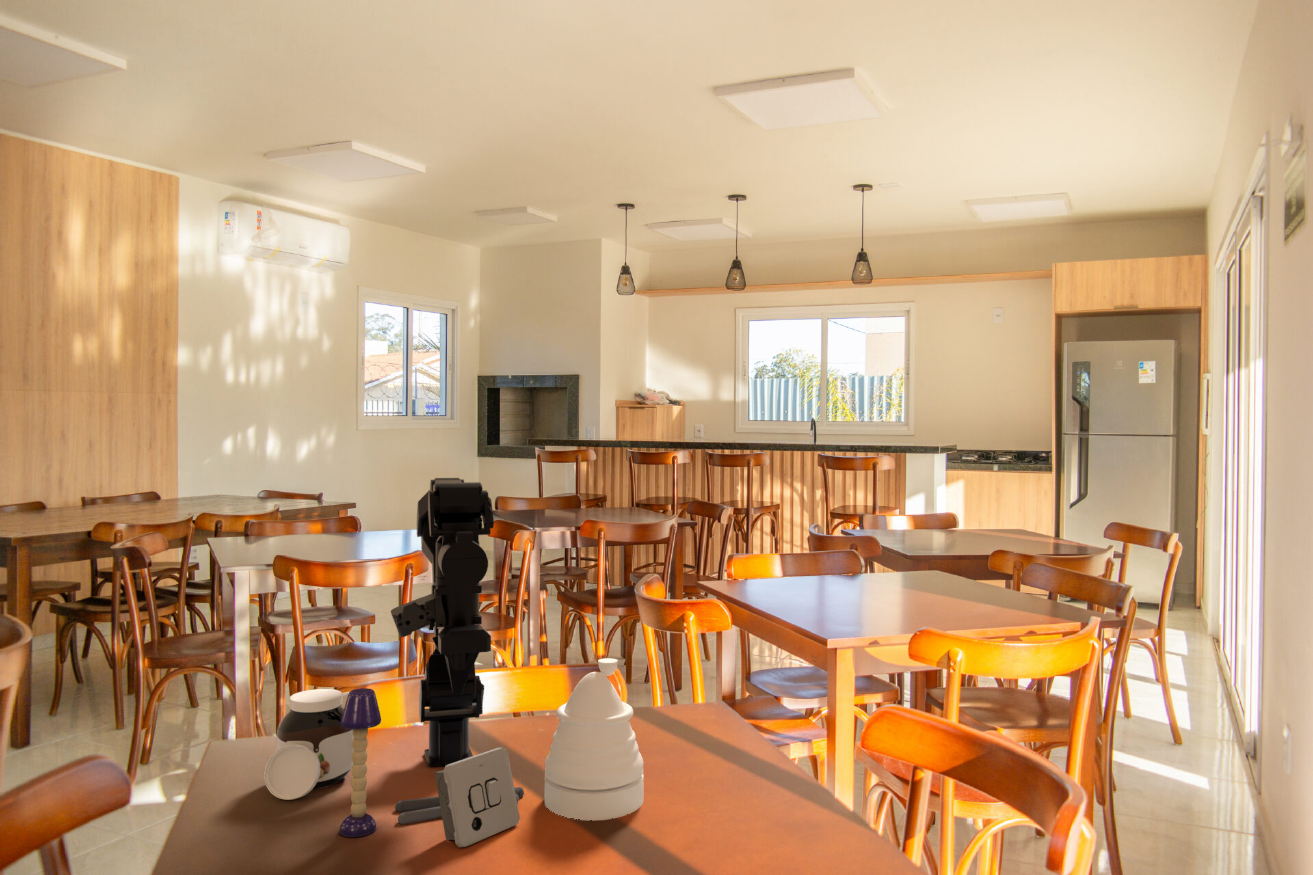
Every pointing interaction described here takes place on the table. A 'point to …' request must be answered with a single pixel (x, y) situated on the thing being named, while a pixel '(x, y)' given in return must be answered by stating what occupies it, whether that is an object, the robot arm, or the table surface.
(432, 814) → the cord
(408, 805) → the cord
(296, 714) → the spread jar
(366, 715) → the toy lamp
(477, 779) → the electrical switch
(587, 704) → the honey pot
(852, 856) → the table surface
